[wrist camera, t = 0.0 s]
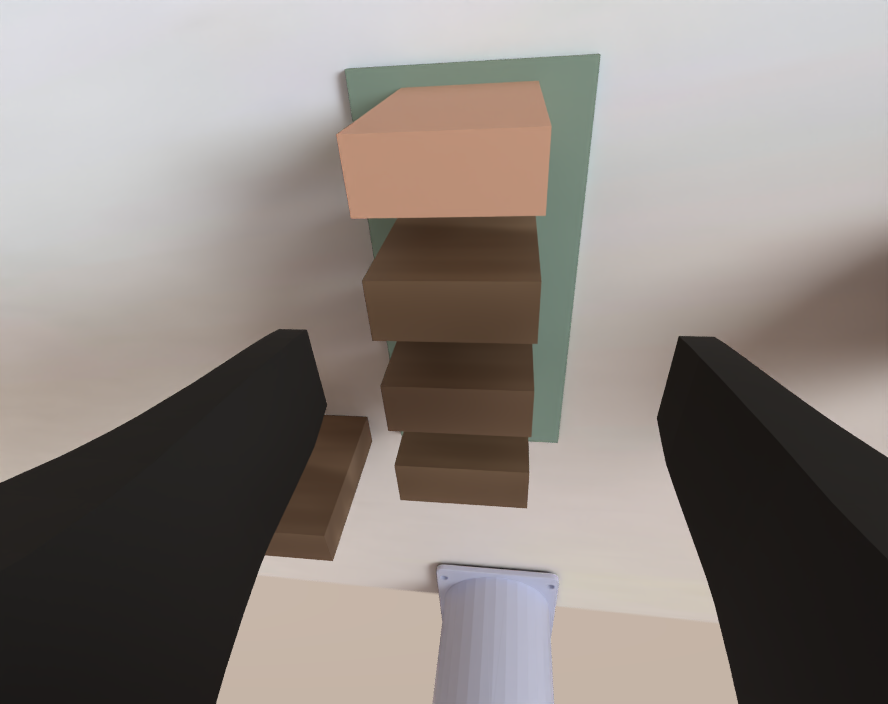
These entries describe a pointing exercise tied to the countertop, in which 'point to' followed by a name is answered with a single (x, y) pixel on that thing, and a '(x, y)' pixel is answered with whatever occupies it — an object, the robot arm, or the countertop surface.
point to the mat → (560, 230)
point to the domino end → (450, 153)
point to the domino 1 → (324, 491)
